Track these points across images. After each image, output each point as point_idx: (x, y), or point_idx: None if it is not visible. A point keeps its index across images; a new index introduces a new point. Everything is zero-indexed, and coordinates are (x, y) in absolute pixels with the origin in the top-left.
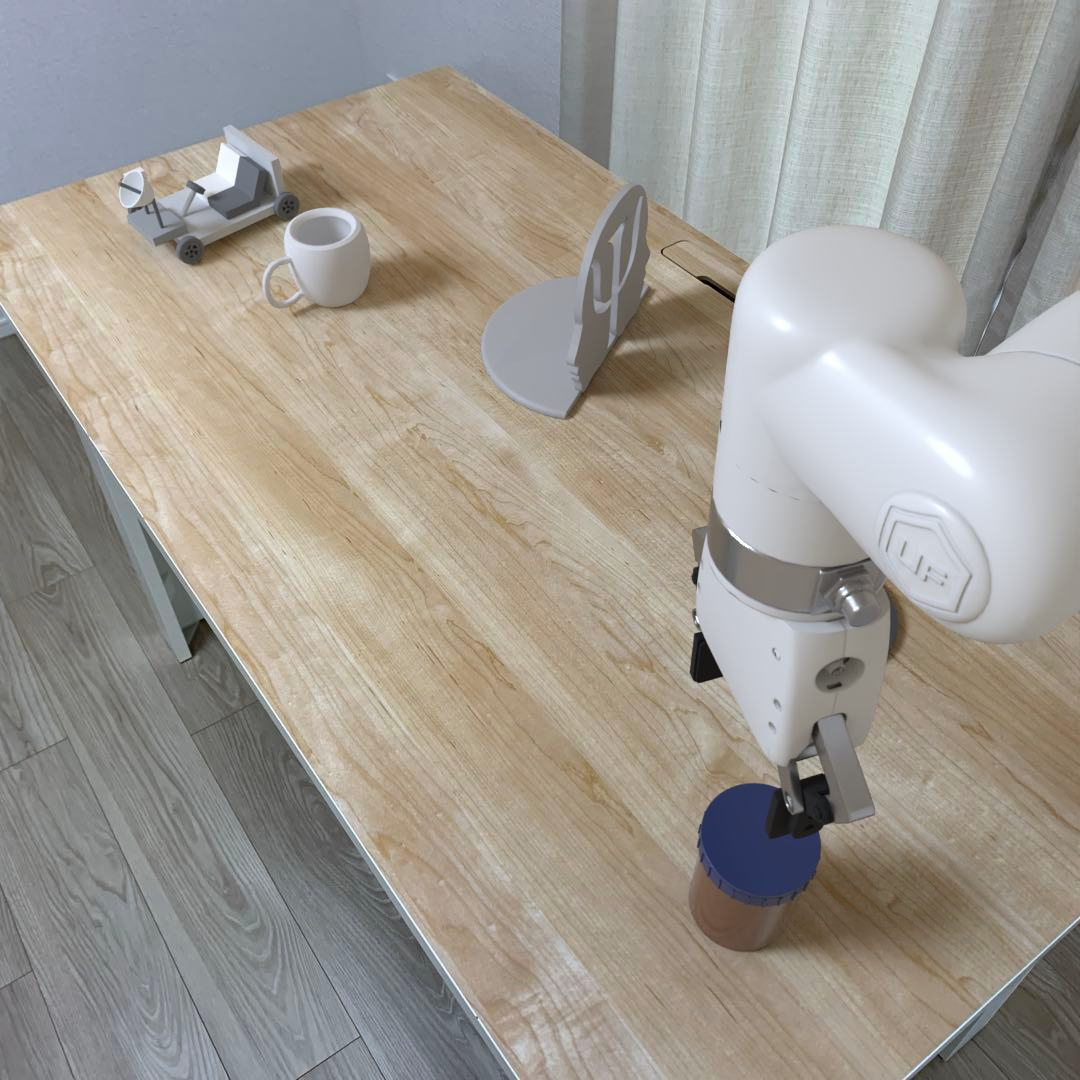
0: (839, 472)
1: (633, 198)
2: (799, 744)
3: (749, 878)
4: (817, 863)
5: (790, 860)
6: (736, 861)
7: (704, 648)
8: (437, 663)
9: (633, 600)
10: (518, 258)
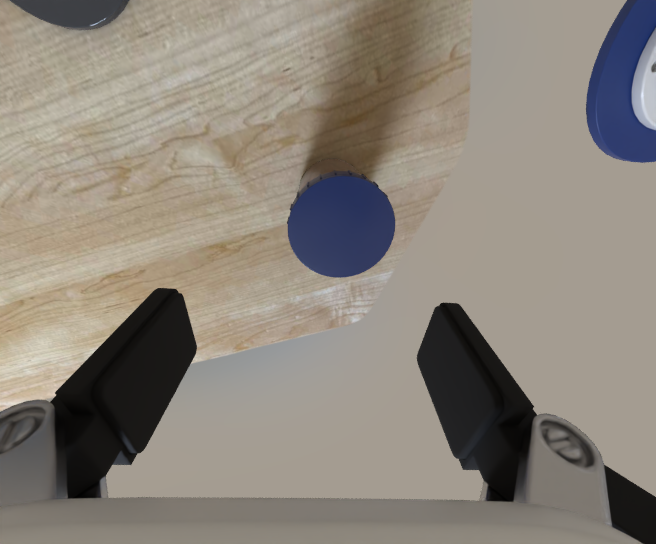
0: None
1: None
2: None
3: (369, 256)
4: (385, 196)
5: (372, 218)
6: (352, 259)
7: (147, 434)
8: (121, 305)
9: (42, 153)
10: None
